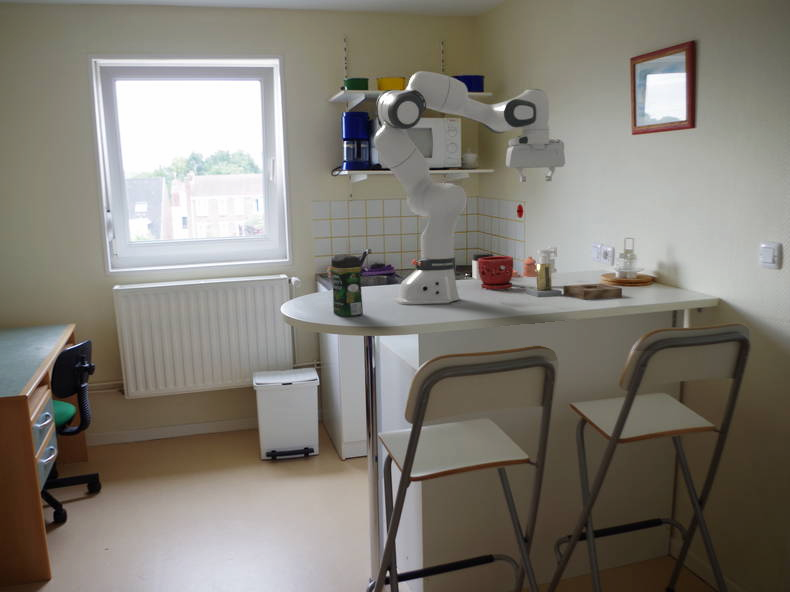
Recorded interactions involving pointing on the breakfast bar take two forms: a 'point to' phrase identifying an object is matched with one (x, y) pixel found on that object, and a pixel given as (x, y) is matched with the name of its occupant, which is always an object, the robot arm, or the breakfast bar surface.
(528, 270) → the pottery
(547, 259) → the grey tall piece
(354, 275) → the coffee jar
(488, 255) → the jar
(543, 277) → the brass peg
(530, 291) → the slate coaster
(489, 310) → the breakfast bar surface
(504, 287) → the plant pot
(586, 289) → the eye block
